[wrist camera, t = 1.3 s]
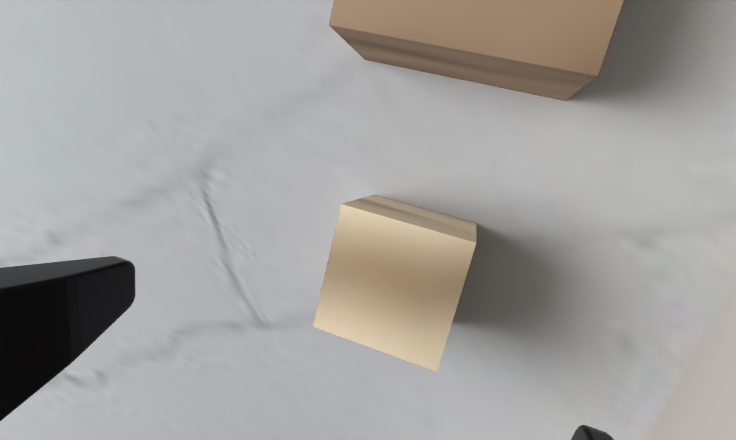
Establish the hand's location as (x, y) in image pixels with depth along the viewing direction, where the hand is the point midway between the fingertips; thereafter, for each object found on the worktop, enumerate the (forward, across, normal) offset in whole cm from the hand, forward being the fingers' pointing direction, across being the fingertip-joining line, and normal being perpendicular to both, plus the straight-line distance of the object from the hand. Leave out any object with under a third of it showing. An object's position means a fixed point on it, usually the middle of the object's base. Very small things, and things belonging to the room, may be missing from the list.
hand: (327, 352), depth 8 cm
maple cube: (+12, 0, +3) cm, 12 cm away
